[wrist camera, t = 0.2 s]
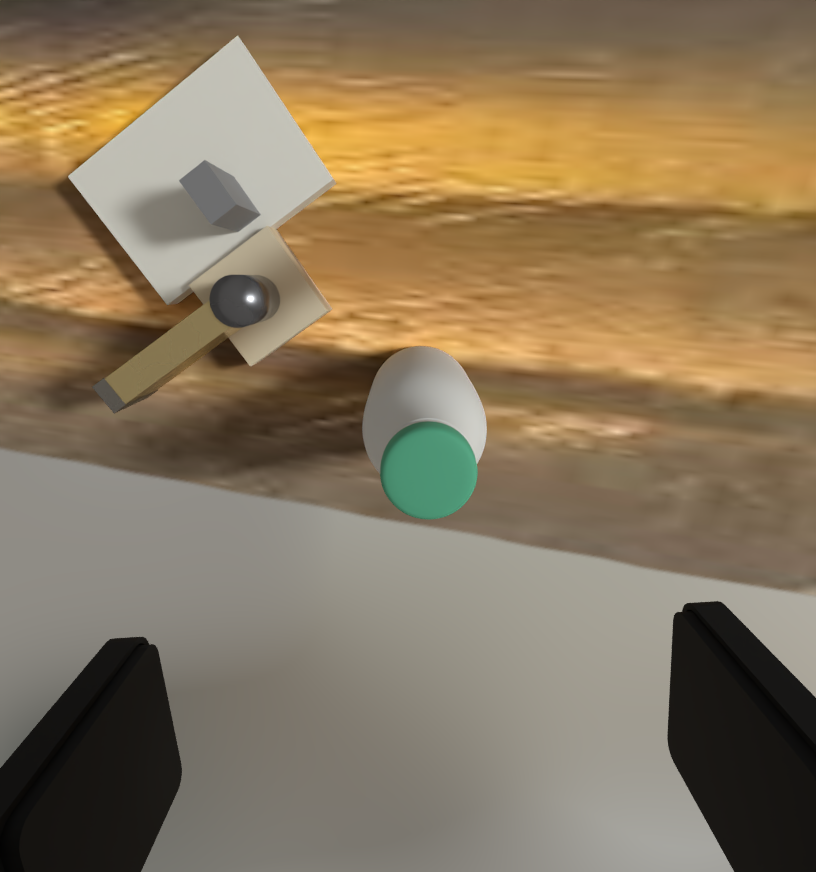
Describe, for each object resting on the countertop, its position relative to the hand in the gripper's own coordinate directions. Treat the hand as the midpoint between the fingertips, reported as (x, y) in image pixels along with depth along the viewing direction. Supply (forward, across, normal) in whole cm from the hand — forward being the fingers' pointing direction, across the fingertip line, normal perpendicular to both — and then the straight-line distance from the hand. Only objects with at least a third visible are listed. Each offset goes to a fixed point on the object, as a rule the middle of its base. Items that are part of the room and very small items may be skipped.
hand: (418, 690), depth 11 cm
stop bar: (+33, +14, -4) cm, 37 cm away
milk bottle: (+37, -1, +2) cm, 37 cm away
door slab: (+37, +14, -15) cm, 42 cm away
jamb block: (+37, +10, -7) cm, 39 cm away
